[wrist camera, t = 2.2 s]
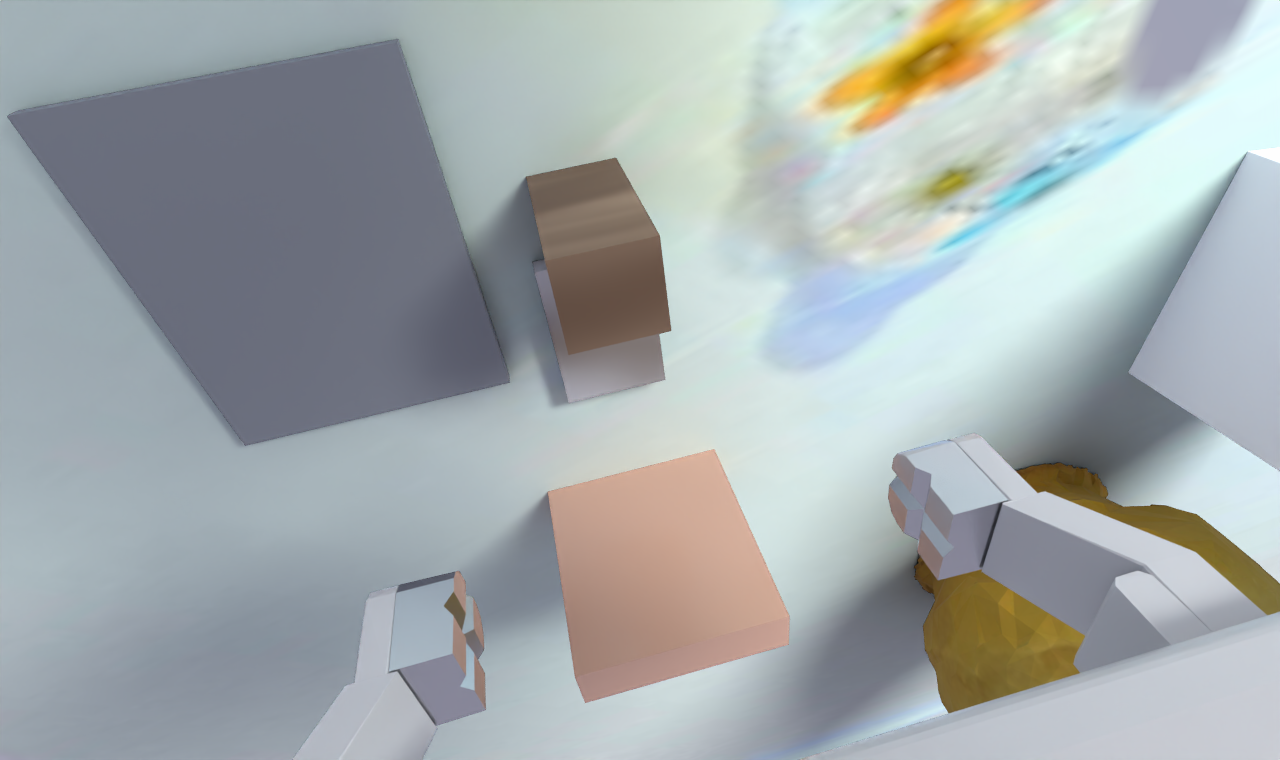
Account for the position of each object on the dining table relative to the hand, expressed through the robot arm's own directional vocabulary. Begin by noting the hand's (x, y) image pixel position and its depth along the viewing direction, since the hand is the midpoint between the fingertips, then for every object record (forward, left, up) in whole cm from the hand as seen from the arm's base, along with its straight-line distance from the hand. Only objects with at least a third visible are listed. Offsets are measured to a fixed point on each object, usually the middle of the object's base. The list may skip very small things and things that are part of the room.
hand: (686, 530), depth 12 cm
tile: (+13, 0, -14) cm, 19 cm away
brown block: (+2, 0, -14) cm, 14 cm away
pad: (-1, -9, -14) cm, 16 cm away
